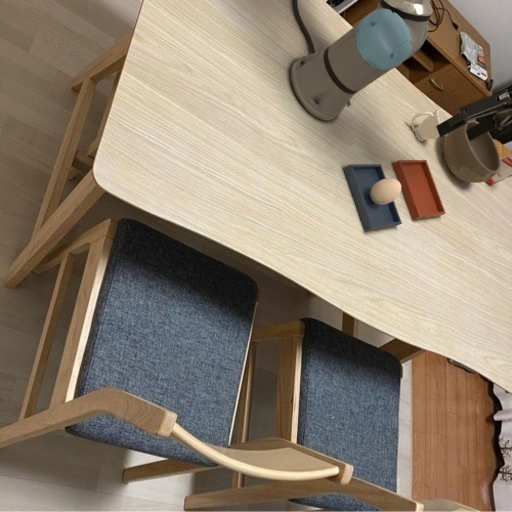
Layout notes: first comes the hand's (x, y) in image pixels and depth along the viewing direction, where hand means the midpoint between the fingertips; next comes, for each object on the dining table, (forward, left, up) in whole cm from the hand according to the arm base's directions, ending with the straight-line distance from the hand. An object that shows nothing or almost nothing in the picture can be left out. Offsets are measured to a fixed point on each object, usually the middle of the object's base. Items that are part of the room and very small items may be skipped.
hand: (453, 133), depth 133 cm
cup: (-10, +16, -17) cm, 26 cm away
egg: (+9, -16, -17) cm, 24 cm away
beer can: (+4, +49, -17) cm, 52 cm away
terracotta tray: (+7, +6, -17) cm, 19 cm away
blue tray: (+8, -16, -17) cm, 25 cm away
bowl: (-1, +31, -17) cm, 36 cm away
